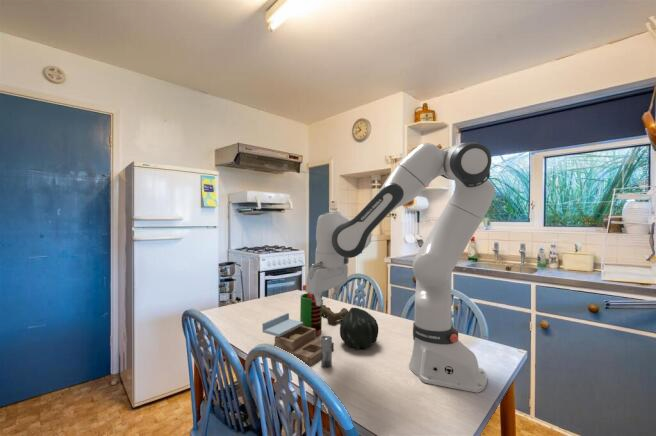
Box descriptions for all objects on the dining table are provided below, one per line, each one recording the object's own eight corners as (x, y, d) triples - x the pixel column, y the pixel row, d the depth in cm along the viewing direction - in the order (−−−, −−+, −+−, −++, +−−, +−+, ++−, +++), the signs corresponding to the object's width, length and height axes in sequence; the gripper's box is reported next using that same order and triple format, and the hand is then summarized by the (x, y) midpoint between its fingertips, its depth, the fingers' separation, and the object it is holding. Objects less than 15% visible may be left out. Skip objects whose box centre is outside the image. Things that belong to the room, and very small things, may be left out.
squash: (390, 328, 115) (366, 296, 120) (377, 344, 102) (350, 308, 107) (365, 346, 121) (342, 315, 125) (349, 364, 108) (325, 328, 112)
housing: (333, 349, 109) (333, 333, 109) (311, 365, 97) (311, 347, 97) (299, 339, 118) (299, 324, 118) (274, 353, 106) (274, 336, 106)
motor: (318, 339, 119) (318, 288, 118) (296, 337, 120) (296, 287, 120) (323, 329, 129) (323, 283, 128) (303, 327, 130) (303, 282, 130)
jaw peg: (333, 364, 98) (333, 337, 98) (328, 368, 95) (328, 340, 95) (325, 361, 100) (325, 335, 100) (319, 366, 97) (319, 338, 97)
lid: (303, 324, 117) (303, 316, 117) (278, 336, 105) (278, 327, 105) (287, 320, 121) (287, 313, 121) (262, 332, 109) (262, 323, 109)
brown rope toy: (329, 313, 151) (355, 324, 135) (313, 317, 146) (338, 329, 129) (329, 301, 151) (354, 311, 135) (313, 305, 146) (337, 315, 129)
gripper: (318, 265, 88) (317, 312, 89) (351, 258, 106) (350, 296, 106) (301, 263, 92) (300, 307, 92) (336, 256, 109) (335, 293, 109)
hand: (327, 301), depth 99 cm, fingers open, 8 cm apart
